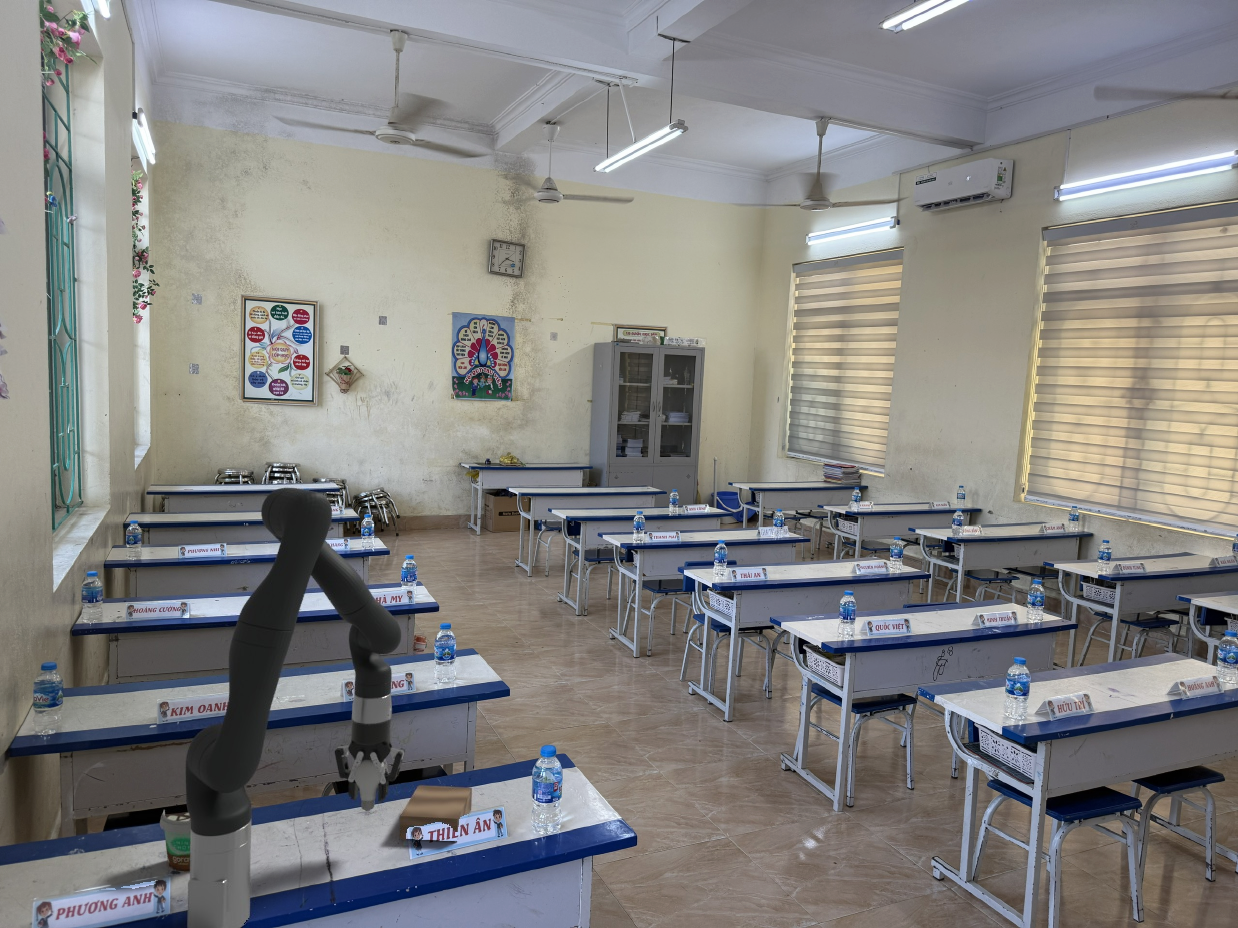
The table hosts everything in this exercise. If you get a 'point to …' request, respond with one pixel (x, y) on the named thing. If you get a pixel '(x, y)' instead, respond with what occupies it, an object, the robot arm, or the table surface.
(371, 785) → the lightbulb
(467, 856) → the table surface
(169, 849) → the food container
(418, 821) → the block
